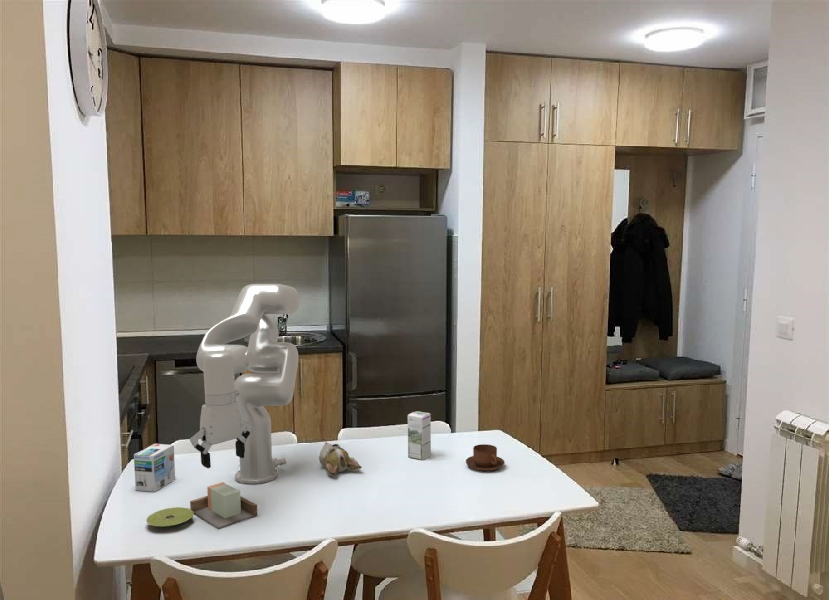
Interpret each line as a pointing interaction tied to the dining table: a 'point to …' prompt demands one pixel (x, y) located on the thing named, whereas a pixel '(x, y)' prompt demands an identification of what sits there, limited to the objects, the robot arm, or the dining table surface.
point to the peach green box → (224, 500)
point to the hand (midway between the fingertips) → (223, 461)
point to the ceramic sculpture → (336, 459)
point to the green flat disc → (170, 516)
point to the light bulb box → (154, 467)
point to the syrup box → (419, 435)
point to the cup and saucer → (485, 458)
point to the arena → (218, 521)
